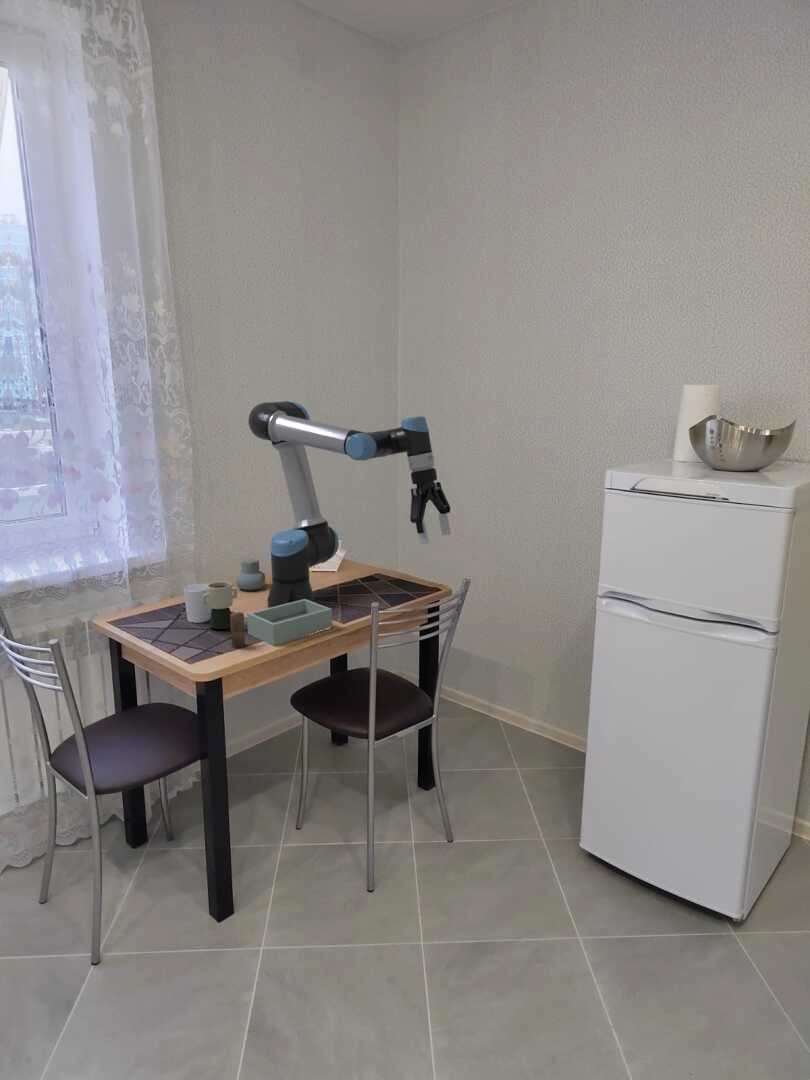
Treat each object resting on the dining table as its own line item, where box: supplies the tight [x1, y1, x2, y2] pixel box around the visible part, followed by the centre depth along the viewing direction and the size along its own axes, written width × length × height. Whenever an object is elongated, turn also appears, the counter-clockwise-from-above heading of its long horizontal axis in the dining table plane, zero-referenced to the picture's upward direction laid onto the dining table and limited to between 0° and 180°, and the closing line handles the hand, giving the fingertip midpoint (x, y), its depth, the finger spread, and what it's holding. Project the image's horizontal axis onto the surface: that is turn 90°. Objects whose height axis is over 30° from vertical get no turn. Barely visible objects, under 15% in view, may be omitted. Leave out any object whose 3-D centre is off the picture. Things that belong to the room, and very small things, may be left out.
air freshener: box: [235, 557, 266, 591], centre depth 244 cm, size 11×8×10 cm
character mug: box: [202, 581, 238, 630], centre depth 205 cm, size 11×7×13 cm, turn 132°
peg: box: [230, 611, 246, 649], centre depth 191 cm, size 4×4×9 cm
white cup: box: [183, 583, 212, 624], centre depth 212 cm, size 8×8×10 cm
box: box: [246, 599, 333, 647], centre depth 203 cm, size 20×13×6 cm, turn 134°
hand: (435, 539), depth 213 cm, fingers open, 13 cm apart
